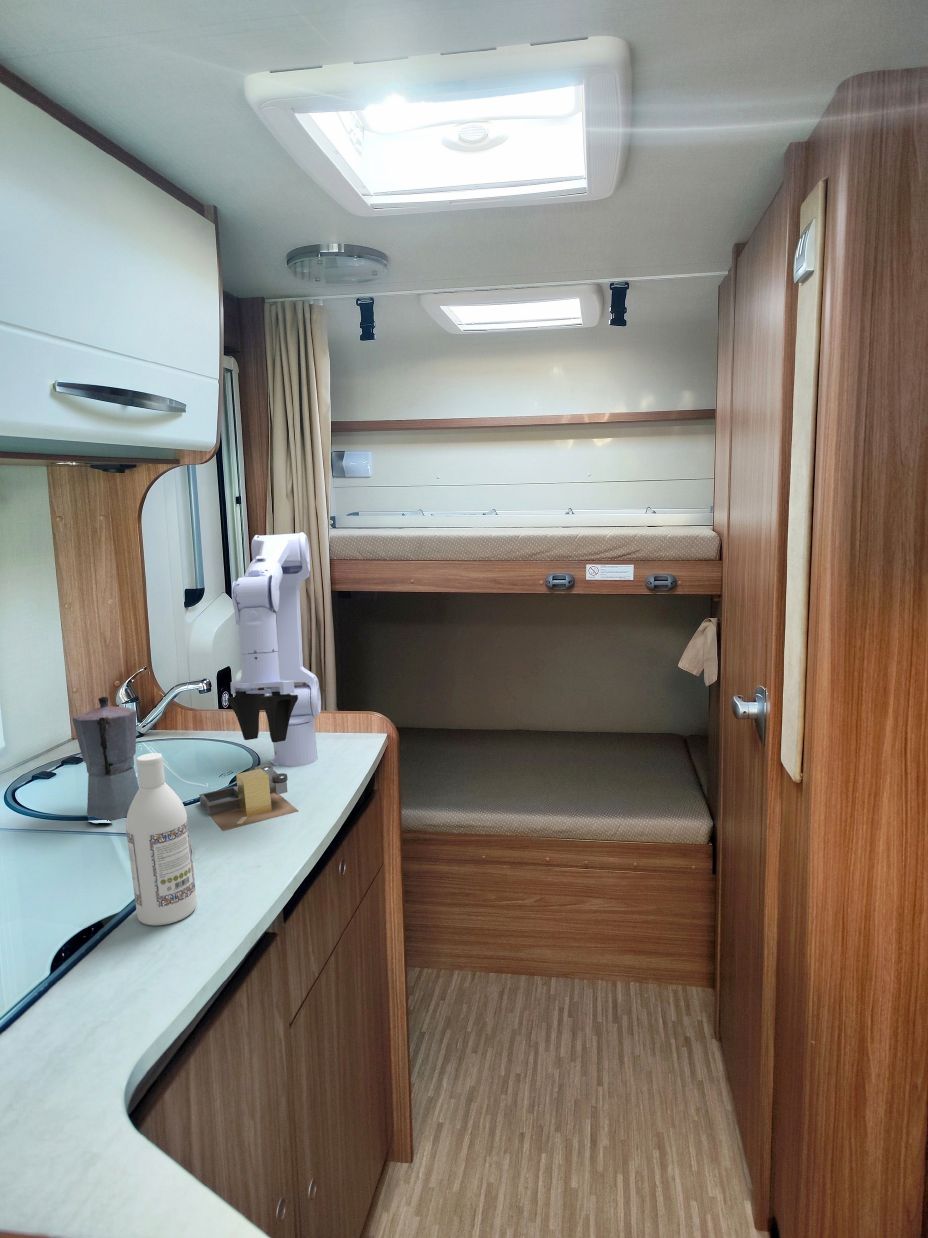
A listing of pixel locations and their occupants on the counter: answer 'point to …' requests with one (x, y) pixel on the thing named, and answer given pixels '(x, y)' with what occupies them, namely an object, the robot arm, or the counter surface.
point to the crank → (275, 779)
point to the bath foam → (159, 848)
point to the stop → (254, 792)
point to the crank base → (228, 812)
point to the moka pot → (108, 758)
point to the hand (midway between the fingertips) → (264, 740)
